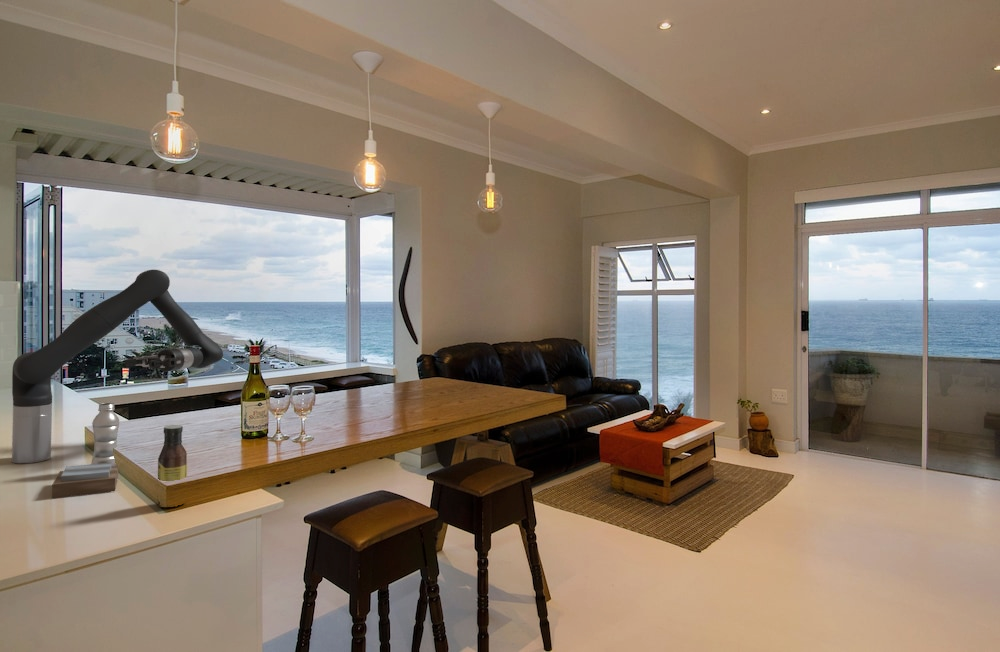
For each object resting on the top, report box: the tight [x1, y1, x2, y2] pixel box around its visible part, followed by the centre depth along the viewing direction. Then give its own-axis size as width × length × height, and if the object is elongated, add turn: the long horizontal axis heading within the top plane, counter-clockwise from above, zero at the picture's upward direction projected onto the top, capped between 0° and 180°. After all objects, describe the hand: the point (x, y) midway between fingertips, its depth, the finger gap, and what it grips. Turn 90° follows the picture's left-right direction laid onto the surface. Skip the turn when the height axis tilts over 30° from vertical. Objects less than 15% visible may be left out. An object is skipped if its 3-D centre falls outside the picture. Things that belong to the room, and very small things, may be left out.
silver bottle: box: [91, 402, 120, 466], centre depth 161 cm, size 6×7×20 cm
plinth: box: [51, 462, 119, 499], centre depth 147 cm, size 13×13×5 cm
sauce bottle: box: [157, 424, 188, 508], centre depth 136 cm, size 6×6×20 cm
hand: (137, 363), depth 171 cm, fingers open, 8 cm apart
